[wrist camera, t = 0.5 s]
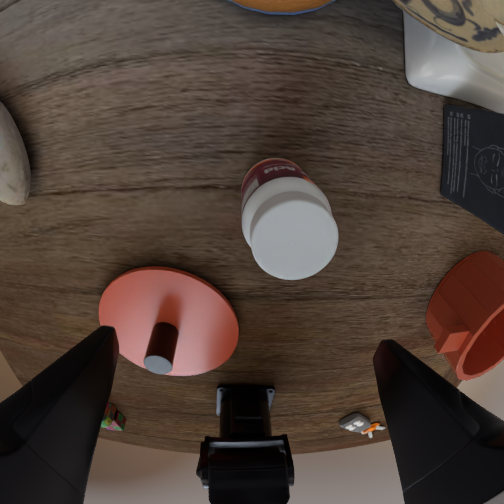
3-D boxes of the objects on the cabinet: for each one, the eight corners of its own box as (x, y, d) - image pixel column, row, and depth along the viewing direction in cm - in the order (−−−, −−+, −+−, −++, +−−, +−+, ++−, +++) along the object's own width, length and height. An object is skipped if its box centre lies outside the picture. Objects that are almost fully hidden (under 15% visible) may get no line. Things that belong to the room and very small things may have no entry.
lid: (234, 372, 29) (234, 412, 25) (116, 360, 28) (104, 396, 24) (244, 267, 23) (246, 309, 19) (91, 256, 22) (64, 291, 18)
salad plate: (543, -21, 5) (525, -19, 8) (389, -119, 4) (374, -104, 7) (562, 144, 14) (541, 136, 18) (428, 84, 14) (402, 85, 17)
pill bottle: (317, 169, 20) (364, 212, 12) (293, 228, 22) (320, 296, 14) (253, 146, 19) (264, 175, 11) (231, 209, 21) (228, 273, 14)
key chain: (335, 421, 37) (337, 429, 35) (356, 410, 36) (359, 418, 34) (370, 436, 42) (372, 443, 40) (388, 427, 40) (390, 433, 39)
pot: (484, 330, 30) (510, 365, 24) (391, 341, 29) (417, 393, 22) (521, 255, 25) (557, 287, 18) (433, 244, 23) (480, 290, 17)
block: (88, 401, 33) (82, 420, 30) (111, 402, 33) (105, 422, 30) (108, 422, 36) (103, 440, 33) (130, 424, 35) (126, 442, 32)
